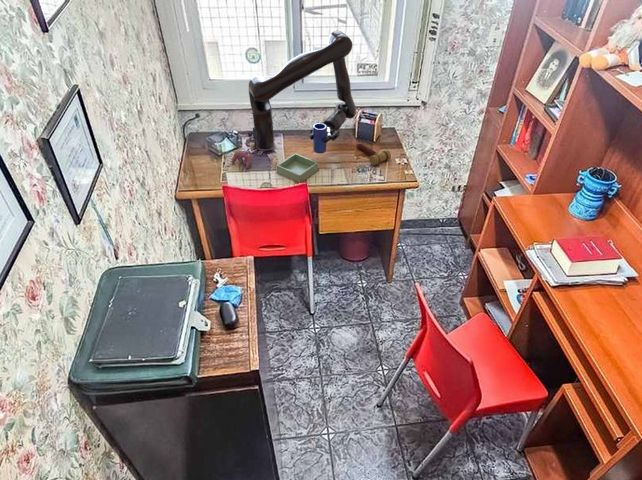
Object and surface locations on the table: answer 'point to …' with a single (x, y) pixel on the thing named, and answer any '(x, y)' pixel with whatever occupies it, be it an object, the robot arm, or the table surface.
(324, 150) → the pencil cup
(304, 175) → the bin
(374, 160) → the gavel
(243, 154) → the video game controller
